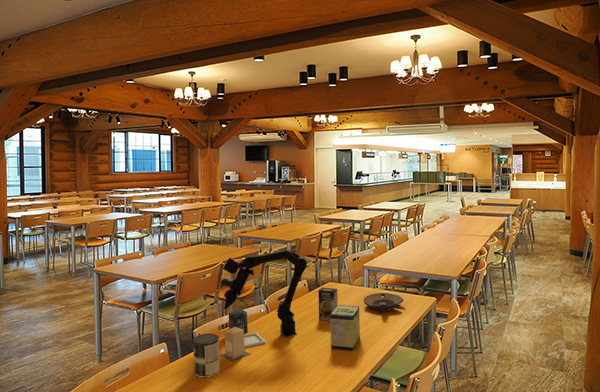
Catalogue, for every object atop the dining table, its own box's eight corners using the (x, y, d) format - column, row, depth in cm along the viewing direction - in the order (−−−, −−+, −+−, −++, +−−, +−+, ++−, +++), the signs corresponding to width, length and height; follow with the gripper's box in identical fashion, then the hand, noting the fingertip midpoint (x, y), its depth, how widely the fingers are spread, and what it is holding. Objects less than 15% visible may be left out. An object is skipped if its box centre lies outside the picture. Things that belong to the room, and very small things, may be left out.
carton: (236, 350, 197) (235, 326, 197) (245, 354, 193) (244, 329, 192) (225, 355, 193) (224, 330, 192) (233, 359, 188) (232, 334, 188)
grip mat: (237, 348, 200) (237, 348, 200) (251, 354, 193) (251, 354, 193) (219, 356, 193) (219, 355, 193) (233, 362, 186) (233, 361, 186)
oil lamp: (408, 304, 257) (408, 291, 257) (390, 319, 232) (390, 305, 231) (373, 299, 269) (373, 286, 269) (352, 313, 244) (352, 300, 243)
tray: (255, 335, 215) (255, 332, 215) (265, 344, 204) (265, 340, 204) (231, 340, 210) (231, 337, 210) (239, 349, 199) (239, 346, 199)
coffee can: (192, 379, 172) (190, 344, 171) (196, 367, 182) (194, 334, 181) (219, 377, 173) (217, 342, 172) (221, 365, 183) (220, 332, 182)
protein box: (360, 338, 208) (359, 305, 207) (353, 351, 193) (352, 316, 192) (338, 336, 212) (338, 304, 211) (330, 348, 197) (329, 314, 196)
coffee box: (318, 319, 235) (317, 290, 234) (322, 315, 241) (321, 287, 240) (334, 321, 232) (333, 291, 231) (338, 317, 238) (337, 288, 237)
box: (233, 336, 215) (232, 315, 215) (229, 332, 220) (228, 312, 220) (248, 332, 220) (247, 311, 219) (243, 329, 224) (242, 309, 224)
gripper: (231, 267, 226) (218, 293, 227) (222, 275, 207) (207, 303, 208) (250, 277, 225) (236, 303, 226) (242, 286, 207) (228, 315, 208)
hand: (227, 306), depth 217 cm, fingers open, 9 cm apart
